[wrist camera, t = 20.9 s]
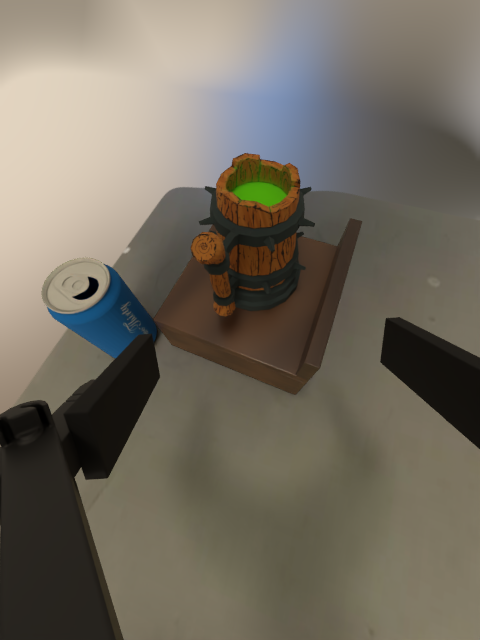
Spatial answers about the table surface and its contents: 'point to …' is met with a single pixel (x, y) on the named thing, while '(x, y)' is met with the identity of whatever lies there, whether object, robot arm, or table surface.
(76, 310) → the beverage can
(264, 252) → the mug
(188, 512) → the table surface
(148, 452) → the table surface
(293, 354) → the brown wooden box
